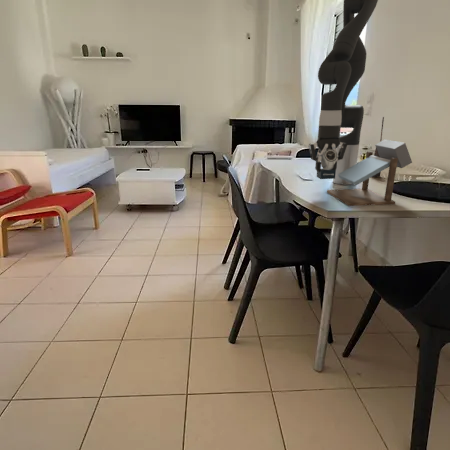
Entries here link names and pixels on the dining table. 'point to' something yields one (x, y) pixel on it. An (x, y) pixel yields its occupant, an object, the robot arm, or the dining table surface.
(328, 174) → the watch
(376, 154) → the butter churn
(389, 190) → the trapdoor frame
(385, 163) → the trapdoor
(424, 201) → the dining table surface
